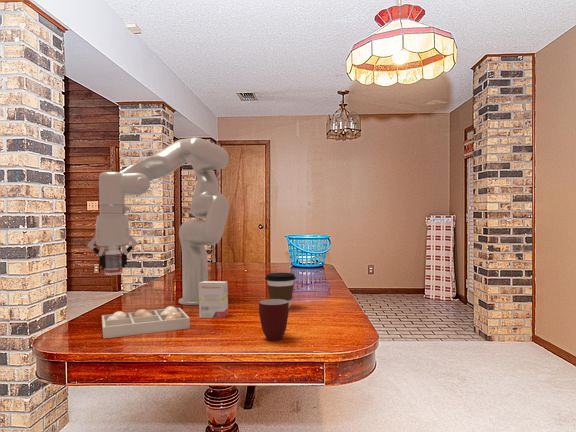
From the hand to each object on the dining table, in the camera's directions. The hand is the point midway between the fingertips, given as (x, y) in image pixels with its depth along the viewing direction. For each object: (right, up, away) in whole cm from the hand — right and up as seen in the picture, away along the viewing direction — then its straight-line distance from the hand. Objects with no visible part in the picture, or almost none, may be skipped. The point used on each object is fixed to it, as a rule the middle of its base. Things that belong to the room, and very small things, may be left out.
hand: (113, 267), depth 141 cm
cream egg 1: (+5, -17, -9) cm, 20 cm away
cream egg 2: (+19, -17, -3) cm, 25 cm away
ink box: (+32, -17, +3) cm, 36 cm away
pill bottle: (0, -2, 0) cm, 2 cm away
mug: (+52, -17, -20) cm, 58 cm away
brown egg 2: (+22, -17, -10) cm, 29 cm away
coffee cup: (+53, -17, +16) cm, 58 cm away
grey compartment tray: (+13, -17, -9) cm, 24 cm away
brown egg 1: (+12, -17, -6) cm, 21 cm away
